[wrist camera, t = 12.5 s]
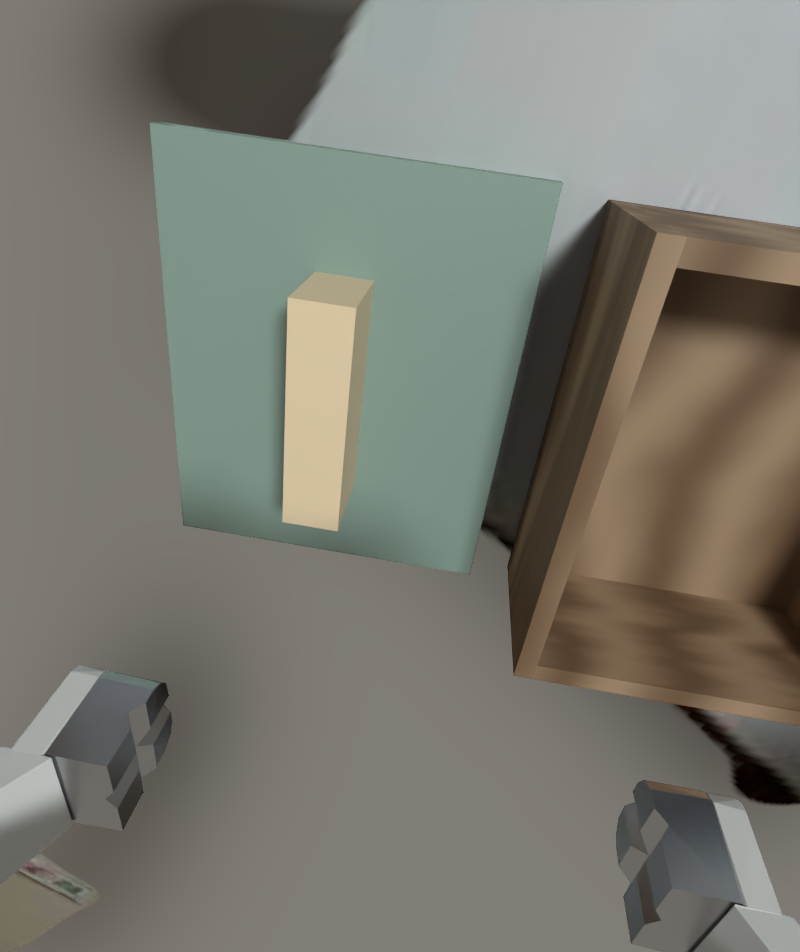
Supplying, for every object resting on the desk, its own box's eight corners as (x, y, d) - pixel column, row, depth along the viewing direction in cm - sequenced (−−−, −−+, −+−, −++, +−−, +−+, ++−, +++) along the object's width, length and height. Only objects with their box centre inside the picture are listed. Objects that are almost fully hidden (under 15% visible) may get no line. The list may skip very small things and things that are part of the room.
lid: (559, 179, 28) (577, 196, 23) (470, 559, 40) (467, 631, 35) (164, 122, 29) (88, 124, 23) (192, 512, 41) (147, 574, 35)
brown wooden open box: (1009, 258, 27) (1216, 315, 19) (786, 613, 39) (862, 736, 31) (608, 199, 28) (657, 232, 20) (507, 566, 39) (513, 675, 32)
